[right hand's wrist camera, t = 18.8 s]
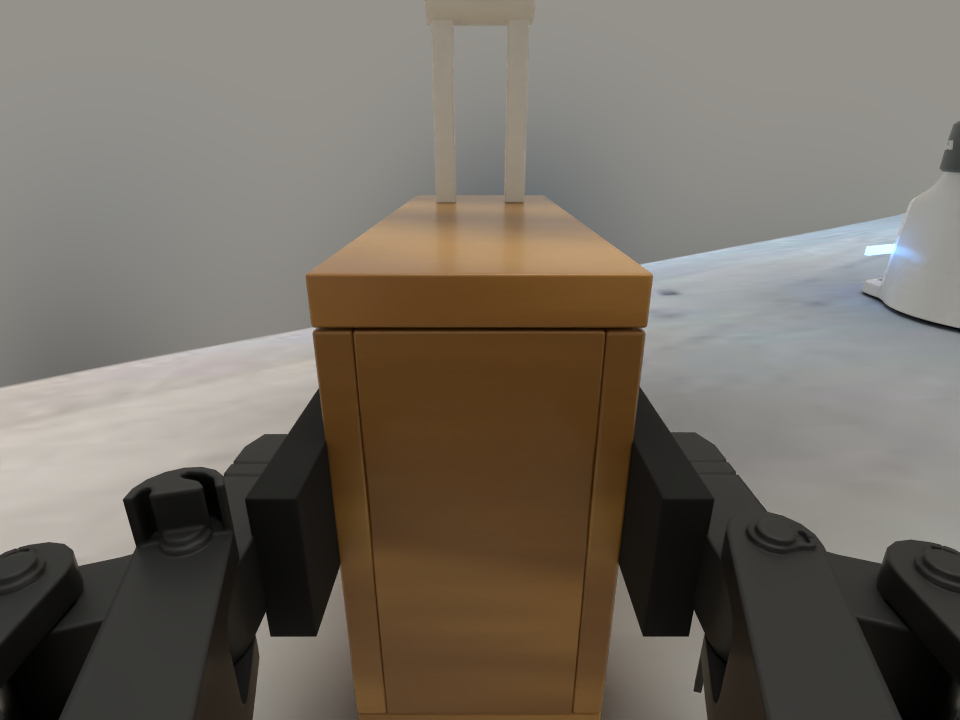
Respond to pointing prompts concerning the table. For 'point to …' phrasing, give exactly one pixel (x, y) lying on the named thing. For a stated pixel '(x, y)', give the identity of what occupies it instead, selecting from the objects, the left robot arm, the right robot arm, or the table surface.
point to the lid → (479, 230)
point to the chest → (479, 513)
